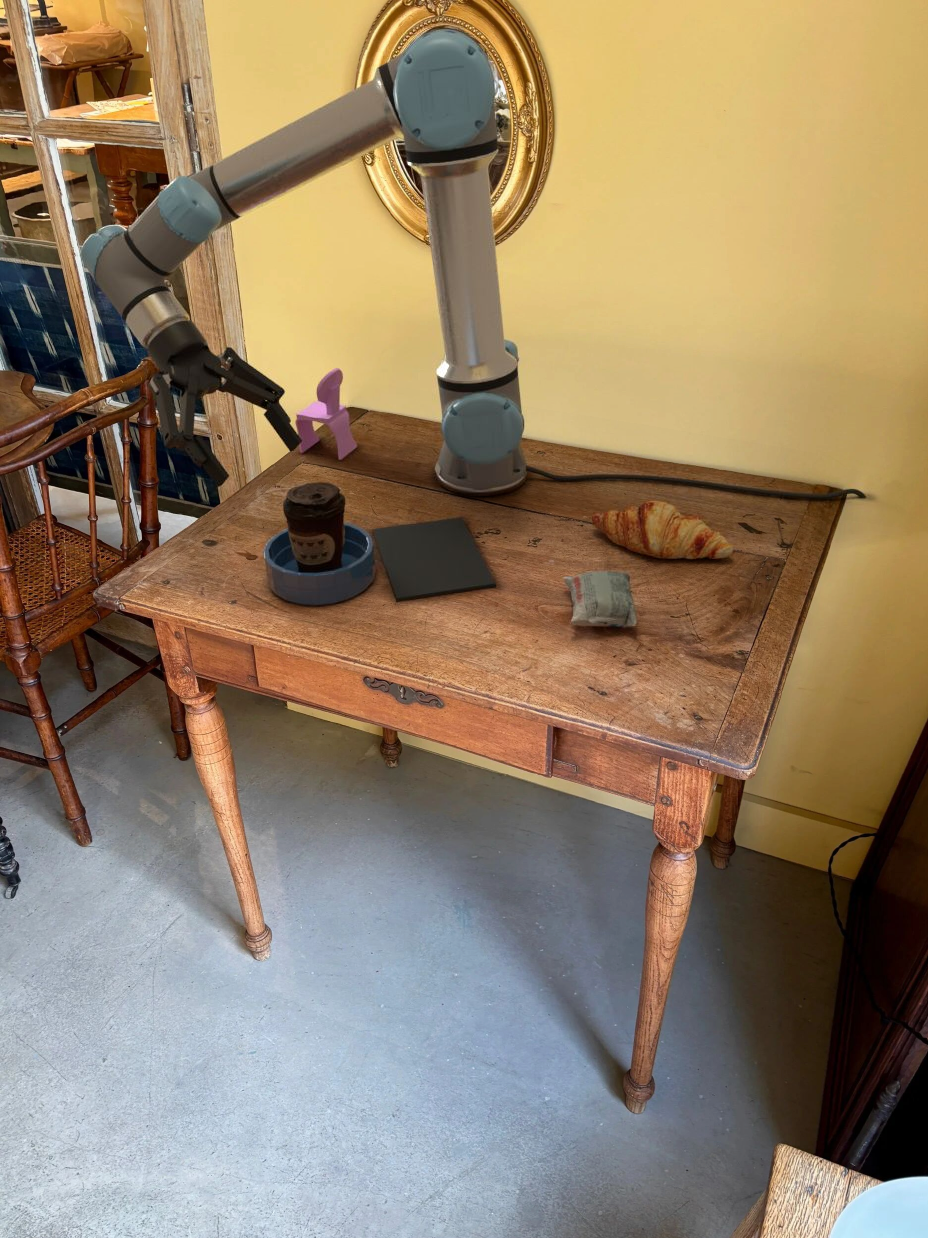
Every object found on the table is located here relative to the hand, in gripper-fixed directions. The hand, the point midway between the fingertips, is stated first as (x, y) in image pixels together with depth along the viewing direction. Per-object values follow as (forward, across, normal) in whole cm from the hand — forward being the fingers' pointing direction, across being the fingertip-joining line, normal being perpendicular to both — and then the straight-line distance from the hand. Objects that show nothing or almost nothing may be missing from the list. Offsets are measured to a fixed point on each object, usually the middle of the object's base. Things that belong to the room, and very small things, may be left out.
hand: (261, 463), depth 128 cm
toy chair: (-3, -33, -25) cm, 41 cm away
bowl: (+17, 0, -4) cm, 18 cm away
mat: (+24, -13, +2) cm, 27 cm away
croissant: (+42, -34, +21) cm, 58 cm away
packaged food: (+43, -14, +21) cm, 50 cm away
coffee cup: (+17, 0, -4) cm, 18 cm away
